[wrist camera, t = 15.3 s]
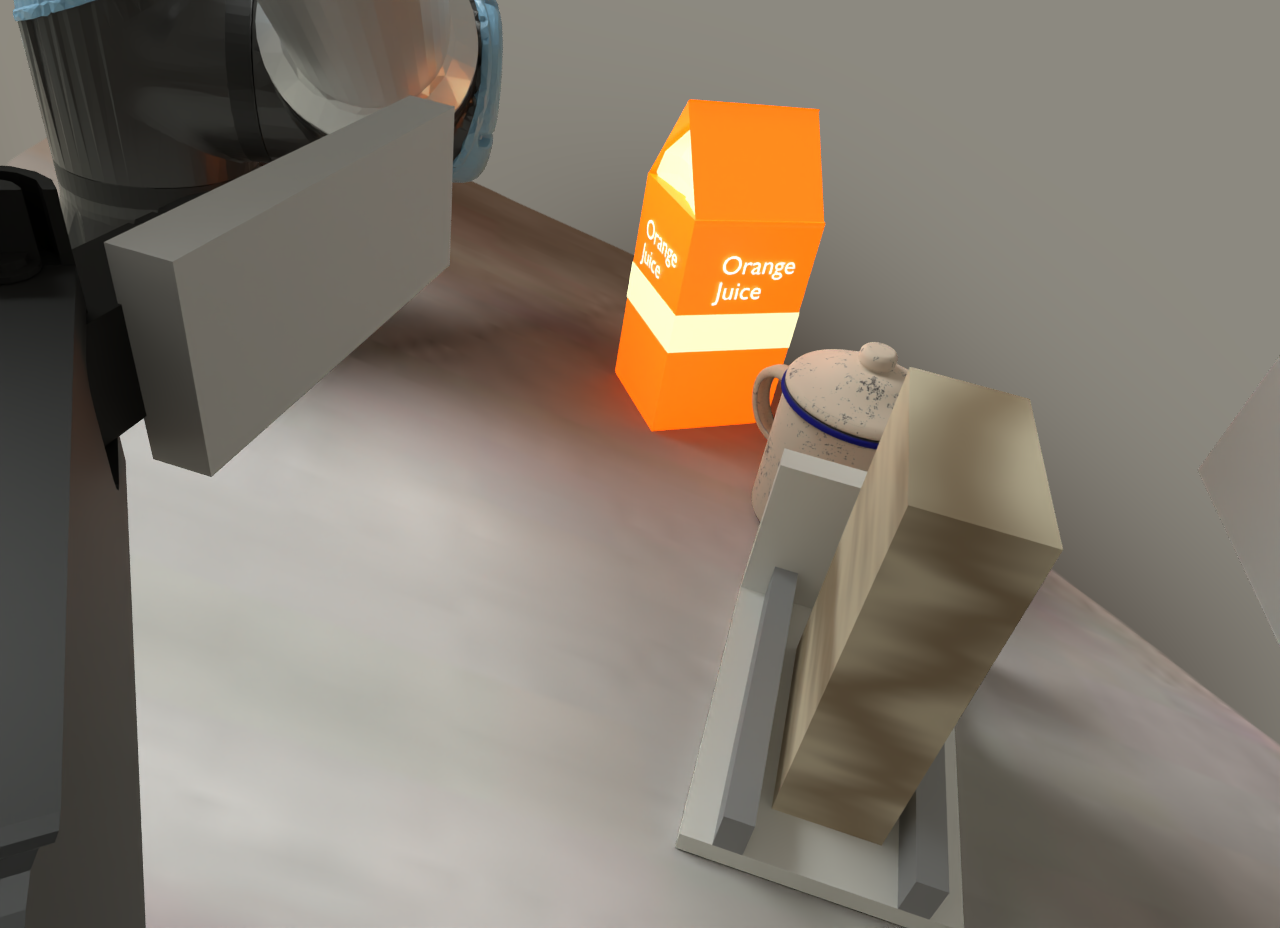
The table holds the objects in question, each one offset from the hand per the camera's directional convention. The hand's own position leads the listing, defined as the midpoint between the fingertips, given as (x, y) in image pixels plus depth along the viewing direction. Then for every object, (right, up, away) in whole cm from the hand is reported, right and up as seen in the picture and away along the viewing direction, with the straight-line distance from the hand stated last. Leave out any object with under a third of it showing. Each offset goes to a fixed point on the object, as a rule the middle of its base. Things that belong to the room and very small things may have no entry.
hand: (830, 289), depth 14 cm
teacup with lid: (+7, -5, +40) cm, 41 cm away
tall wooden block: (+6, -15, +24) cm, 29 cm away
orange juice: (0, +2, +48) cm, 48 cm away
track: (+6, -15, +26) cm, 30 cm away
